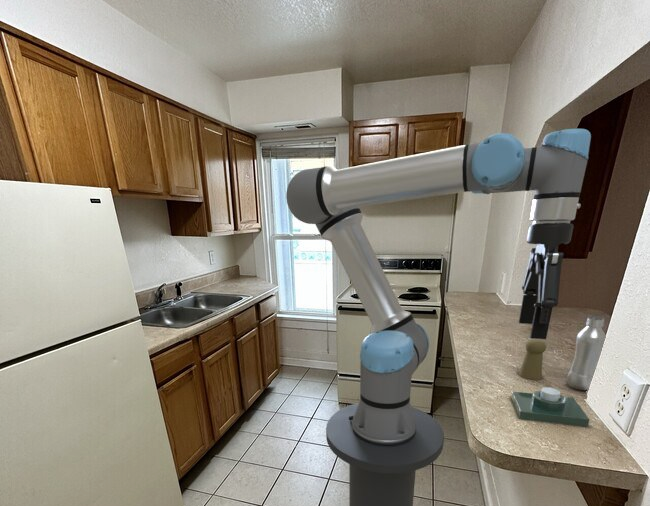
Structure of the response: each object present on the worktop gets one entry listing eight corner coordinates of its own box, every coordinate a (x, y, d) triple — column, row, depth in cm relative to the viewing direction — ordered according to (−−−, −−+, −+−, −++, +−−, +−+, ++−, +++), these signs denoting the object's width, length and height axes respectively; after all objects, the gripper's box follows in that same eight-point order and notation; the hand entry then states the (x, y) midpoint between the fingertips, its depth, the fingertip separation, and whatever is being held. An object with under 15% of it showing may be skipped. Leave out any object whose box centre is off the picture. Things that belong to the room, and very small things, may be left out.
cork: (541, 381, 103) (548, 345, 100) (518, 377, 106) (524, 342, 103) (541, 373, 108) (549, 339, 104) (519, 370, 111) (525, 337, 107)
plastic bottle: (592, 385, 100) (610, 317, 93) (593, 395, 94) (612, 323, 87) (565, 380, 103) (581, 314, 96) (564, 389, 98) (581, 319, 91)
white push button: (542, 401, 85) (543, 393, 84) (537, 394, 88) (539, 386, 87) (561, 403, 83) (562, 395, 83) (556, 395, 87) (557, 388, 86)
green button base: (519, 418, 84) (522, 403, 83) (511, 398, 94) (513, 384, 93) (587, 427, 80) (591, 411, 79) (571, 404, 90) (575, 390, 88)
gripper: (597, 222, 57) (568, 349, 65) (555, 222, 78) (537, 317, 86) (545, 223, 59) (523, 346, 67) (518, 223, 80) (503, 316, 88)
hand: (531, 330), depth 76 cm, fingers open, 11 cm apart
